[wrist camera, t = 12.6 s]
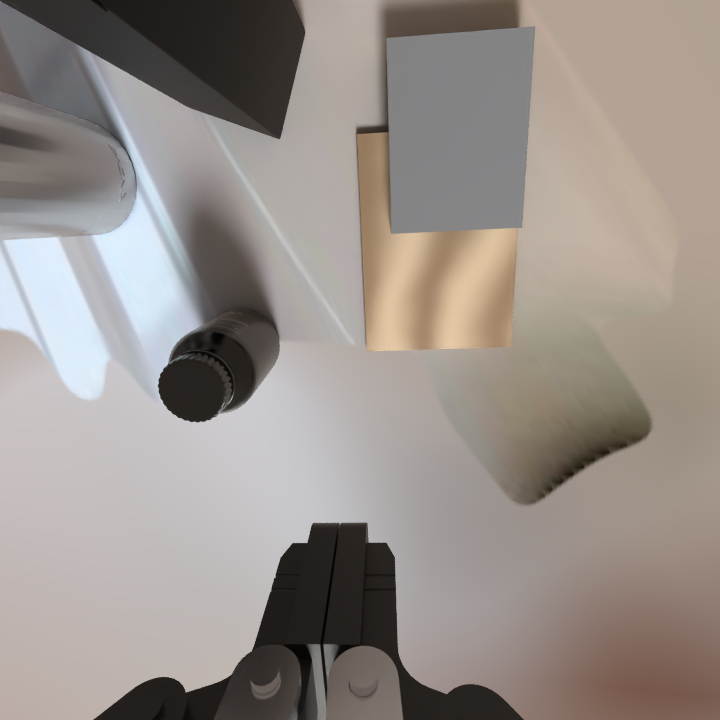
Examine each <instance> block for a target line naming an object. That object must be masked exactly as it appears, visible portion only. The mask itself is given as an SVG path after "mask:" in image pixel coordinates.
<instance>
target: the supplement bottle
mask: <svg viewBox="0 0 720 720" xmlns="http://www.w3.org/2000/svg"><path fill="white" fill-rule="evenodd" d="M279 347H280V345H279V338H278V335H277V332H276V330H275V329H274V327H273V326H272V324H271V323H270V322H269V321H268V320H267V319H266V318H265V317H264V316H262V315H261V314H259V313H257V312H254V311H251V310H247V309H233V310H230V311H227V312H224V313H222V314H221V315H219V316H217V317H215V318H214V319H212V320H210V321H208V322H207V323H205V324H203V325H202V326H200V327H198V328H197V329H195V330H193V331H192V332H190V333H188V334H187V335H185V336H184V337H183V338H181V339H180V340H179V341H178V342H177V343H176V345H175V346H174V348H173V350H172V351H171V354H170V357H169V362H168V365H167V366H166V367H165V368H164V369H163V372H162V373H161V374H160V378H159V384H158V387H159V394H160V398H161V399H162V401H163V404H164V405H165V406H166V407H167V409H168V410H169V411H171V412H172V413H173V414H174V415H176V416H177V417H178V418H182V419H184V420H188V421H190V422H194V421H195V422H200V421H202V422H204V421H206V420H211V419H212V418H213V417H216V416H217V415H218V414H221V413H227V412H231V411H233V410H235V409H237V408H239V407H241V406H242V405H243V404H245V403H246V402H247V401H248V400H249V398H250V397H251V396H252V395H253V393H254V392H255V391H256V389H257V388H258V386H259V385H260V384H261V382H262V381H263V380H264V378H265V377H266V376H267V375H268V373H269V372H270V370H271V369H272V368H273V366H274V364H275V363H276V360H277V358H278V355H279Z"/></svg>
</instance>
